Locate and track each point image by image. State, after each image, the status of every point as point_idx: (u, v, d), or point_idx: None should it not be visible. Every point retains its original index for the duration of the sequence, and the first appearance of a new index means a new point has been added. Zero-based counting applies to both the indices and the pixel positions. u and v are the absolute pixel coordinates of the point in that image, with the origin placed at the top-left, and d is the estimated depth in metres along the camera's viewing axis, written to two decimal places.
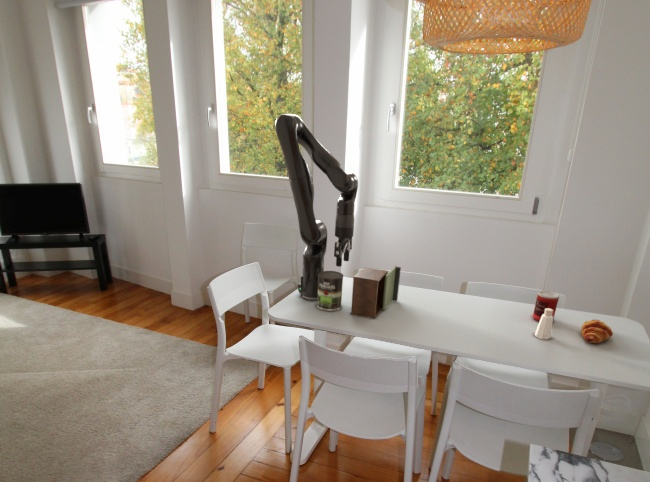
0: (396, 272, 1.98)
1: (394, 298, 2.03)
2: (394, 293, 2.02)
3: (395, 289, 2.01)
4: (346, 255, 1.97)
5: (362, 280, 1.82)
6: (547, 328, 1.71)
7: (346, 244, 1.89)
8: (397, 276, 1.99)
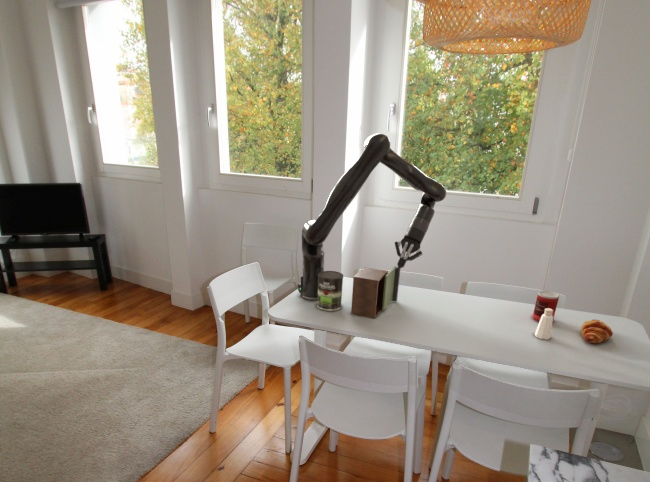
0: (396, 272, 1.98)
1: (394, 298, 2.02)
2: (394, 293, 2.02)
3: (395, 289, 2.01)
4: None
5: (362, 280, 1.82)
6: (547, 328, 1.71)
7: (405, 244, 1.95)
8: (397, 276, 1.98)
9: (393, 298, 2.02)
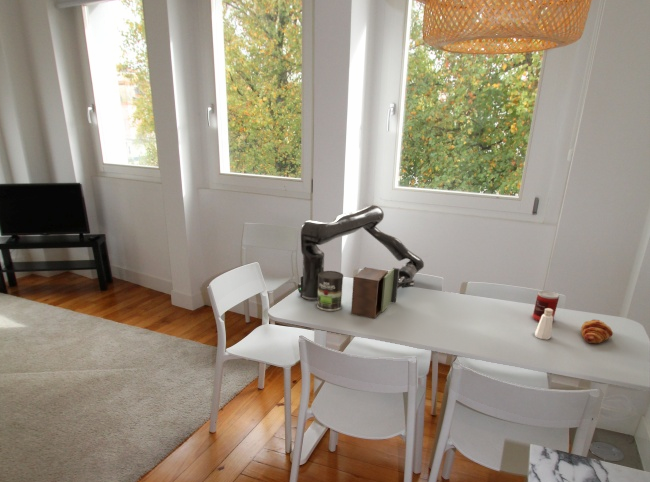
0: (395, 274, 1.96)
1: (393, 300, 2.01)
2: (393, 295, 2.00)
3: (394, 291, 1.99)
4: None
5: (362, 280, 1.82)
6: (547, 328, 1.71)
7: None
8: (396, 278, 1.97)
9: (392, 299, 2.01)
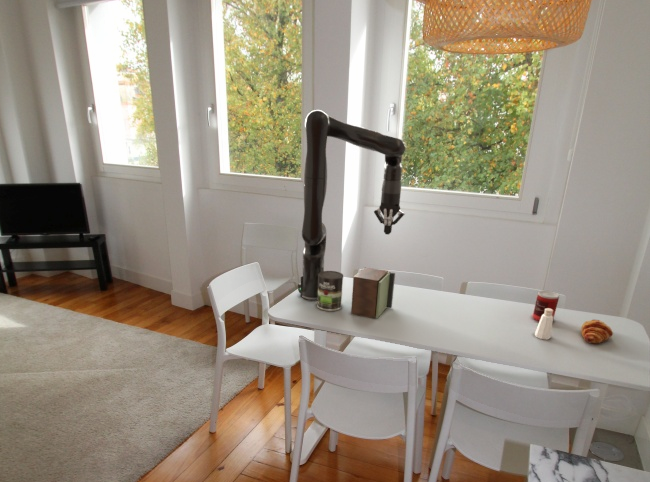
0: (390, 278, 1.91)
1: (388, 305, 1.95)
2: (388, 300, 1.94)
3: (389, 296, 1.94)
4: None
5: (362, 280, 1.82)
6: (547, 328, 1.71)
7: (384, 211, 1.90)
8: (391, 282, 1.91)
9: (388, 304, 1.95)
